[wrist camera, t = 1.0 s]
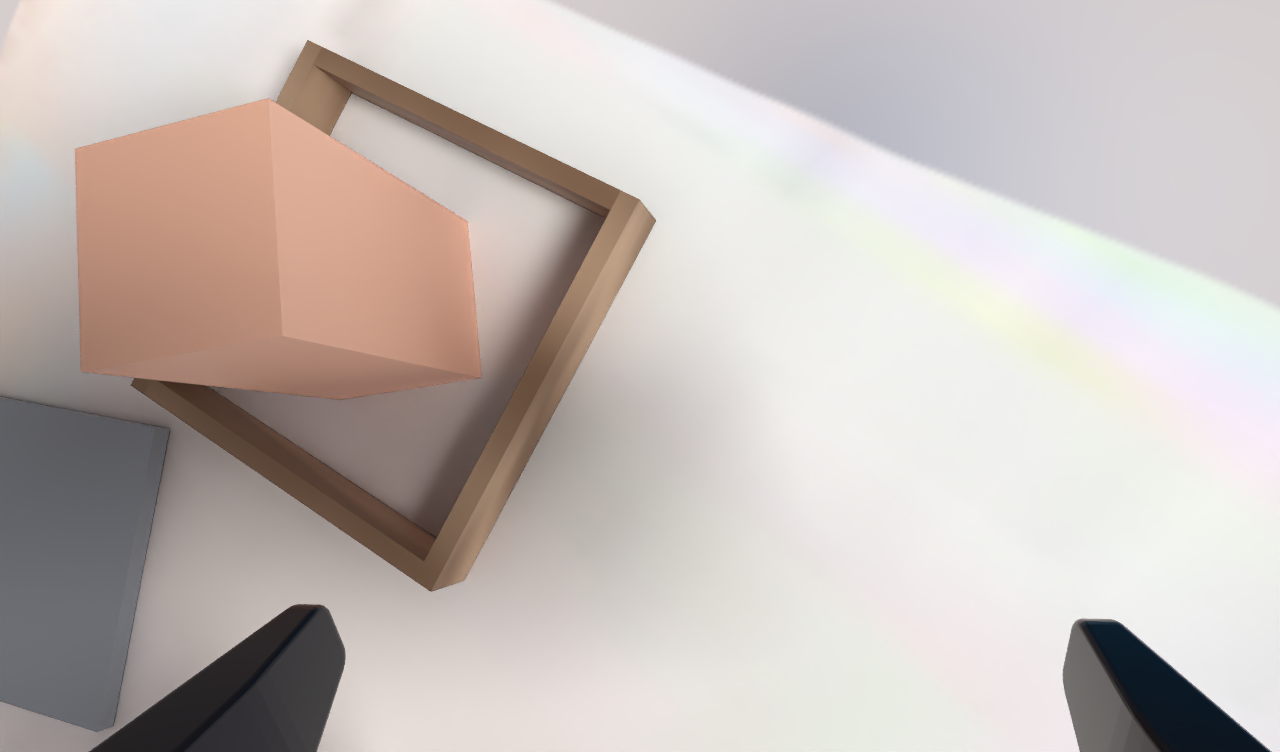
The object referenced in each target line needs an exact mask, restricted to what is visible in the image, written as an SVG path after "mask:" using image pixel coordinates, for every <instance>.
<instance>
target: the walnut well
mask: <svg viewBox="0 0 1280 752" xmlns="http://www.w3.org/2000/svg"><path fill="white" fill-rule="evenodd" d="M351 93H353V94H355V95H357V96H359V97H361V98H363V99H366V100H368V101H370V102H372V103H374V104H376V105H378V106H380V107H382V108H384V109H386V110H388V111H390V112H392V113H394V114H396V115H398V116H400V117H402V118H404V119H406V120H408V121H410V122H412V123H414V124H416V125H418V126H420V127H422V128H424V129H426V130H428V131H430V132H432V133H434V134H436V135H438V136H440V137H442V138H444V139H446V140H448V141H450V142H453V143H455V144H457V145H459V146H461V147H463V148H465V149H467V150H469V151H471V152H473V153H475V154H477V155H479V156H481V157H483V158H485V159H487V160H489V161H491V162H493V163H495V164H497V165H499V166H501V167H503V168H505V169H507V170H509V171H511V172H513V173H515V174H517V175H519V176H521V177H523V178H525V179H527V180H529V181H531V182H533V183H535V184H537V185H540V186H542V187H544V188H546V189H548V190H550V191H552V192H554V193H556V194H558V195H560V196H562V197H564V198H566V199H568V200H570V201H572V202H574V203H576V204H578V205H580V206H582V207H584V208H586V209H588V210H590V211H592V212H594V213H596V214H598V215H600V216H602V217H604V218H606V220H605V222H604V223H603V225H602V227H601V229H600V231H599V233H598V235H597V237H596V238H595V240H594V242H593V244H592V246H591V248H590V250H589V252H588V254H587V255H586V257H585V259H584V261H583V263H582V265H581V267H580V269H579V270H578V272H577V274H576V276H575V278H574V280H573V282H572V284H571V286H570V287H569V289H568V291H567V293H566V295H565V297H564V299H563V301H562V302H561V304H560V306H559V308H558V310H557V312H556V314H555V316H554V318H553V319H552V321H551V323H550V325H549V327H548V329H547V331H546V333H545V335H544V336H543V338H542V340H541V342H540V344H539V346H538V348H537V350H536V351H535V353H534V355H533V357H532V359H531V361H530V363H529V365H528V367H527V368H526V370H525V372H524V374H523V376H522V378H521V380H520V382H519V383H518V385H517V387H516V389H515V391H514V393H513V395H512V397H511V399H510V400H509V402H508V404H507V406H506V408H505V410H504V412H503V414H502V415H501V417H500V419H499V421H498V423H497V425H496V427H495V429H494V431H493V432H492V434H491V436H490V438H489V440H488V442H487V444H486V446H485V448H484V449H483V451H482V453H481V455H480V457H479V459H478V461H477V463H476V464H475V466H474V468H473V470H472V472H471V474H470V476H469V478H468V480H467V481H466V483H465V485H464V487H463V489H462V491H461V493H460V495H459V496H458V498H457V500H456V502H455V504H454V506H453V508H452V510H451V512H450V513H449V515H448V517H447V519H446V521H445V523H444V525H443V527H442V529H441V530H440V532H439V534H438V536H437V538H435V537H433V536H432V535H430V534H429V533H427V532H426V531H424V530H423V529H421V528H420V527H418V526H417V525H415V524H414V523H412V522H411V521H409V520H408V519H406V518H405V517H403V516H402V515H400V514H399V513H397V512H396V511H394V510H393V509H391V508H390V507H388V506H387V505H385V504H384V503H382V502H381V501H379V500H378V499H376V498H375V497H373V496H372V495H370V494H369V493H367V492H366V491H364V490H363V489H361V488H360V487H358V486H356V485H355V484H353V483H352V482H350V481H349V480H347V479H346V478H344V477H343V476H341V475H340V474H338V473H337V472H335V471H334V470H332V469H331V468H329V467H328V466H326V465H325V464H323V463H322V462H320V461H319V460H317V459H316V458H314V457H313V456H311V455H310V454H308V453H307V452H305V451H304V450H302V449H301V448H299V447H298V446H296V445H295V444H293V443H292V442H290V441H289V440H287V439H286V438H284V437H283V436H281V435H280V434H278V433H277V432H275V431H274V430H272V429H271V428H269V427H268V426H266V425H265V424H263V423H262V422H260V421H259V420H257V419H256V418H254V417H253V416H251V415H250V414H248V413H247V412H245V411H244V410H242V409H241V408H239V407H238V406H236V405H235V404H233V403H232V402H230V401H229V400H227V399H226V398H224V397H223V396H221V395H219V394H218V393H216V392H215V391H213V390H212V389H210V388H209V387H207V386H206V385H198V384H189V383H179V382H170V381H161V380H152V379H142V378H134V380H133V382H132V384H131V386H133V387H134V388H136V389H137V390H138V391H140V392H141V393H143V394H144V395H146V396H147V397H149V398H150V399H152V400H153V401H154V402H156V403H157V404H159V405H160V406H162V407H163V408H165V409H166V410H168V411H169V412H170V413H172V414H173V415H175V416H176V417H178V418H179V419H181V420H182V421H184V422H185V423H186V424H188V425H189V426H191V427H192V428H194V429H195V430H197V431H198V432H200V433H201V434H202V435H204V436H205V437H207V438H208V439H210V440H211V441H213V442H214V443H216V444H217V445H218V446H220V447H221V448H223V449H224V450H226V451H227V452H229V453H230V454H231V455H233V456H234V457H236V458H237V459H239V460H240V461H242V462H243V463H245V464H246V465H247V466H249V467H250V468H252V469H253V470H255V471H256V472H258V473H259V474H261V475H262V476H263V477H265V478H266V479H268V480H269V481H271V482H272V483H274V484H275V485H277V486H278V487H279V488H281V489H282V490H284V491H285V492H287V493H288V494H290V495H291V496H293V497H294V498H295V499H297V500H298V501H300V502H301V503H303V504H304V505H306V506H307V507H309V508H310V509H311V510H313V511H314V512H316V513H317V514H319V515H320V516H322V517H323V518H324V519H326V520H327V521H329V522H330V523H332V524H333V525H335V526H336V527H338V528H339V529H340V530H342V531H343V532H345V533H346V534H348V535H349V536H351V537H352V538H354V539H355V540H356V541H358V542H359V543H361V544H362V545H364V546H365V547H367V548H368V549H370V550H371V551H372V552H374V553H375V554H377V555H378V556H380V557H381V558H383V559H384V560H386V561H387V562H388V563H390V564H391V565H393V566H394V567H396V568H397V569H399V570H400V571H402V572H403V573H404V574H406V575H407V576H409V577H410V578H412V579H413V580H415V581H416V582H417V583H419V584H420V585H422V586H423V587H425V588H426V589H428V590H429V591H434V590H437V589H440V588H443V587H446V586H449V585H452V584H455V583H458V582H461V581H464V580H465V578H466V576H467V574H468V572H469V570H470V569H471V567H472V565H473V563H474V561H475V559H476V557H477V555H478V554H479V552H480V550H481V548H482V546H483V544H484V542H485V540H486V539H487V537H488V535H489V533H490V531H491V529H492V527H493V525H494V524H495V522H496V520H497V518H498V516H499V514H500V512H501V510H502V509H503V507H504V505H505V503H506V501H507V499H508V497H509V495H510V494H511V492H512V490H513V488H514V486H515V484H516V482H517V480H518V479H519V477H520V475H521V473H522V471H523V469H524V467H525V465H526V464H527V462H528V460H529V458H530V456H531V454H532V452H533V450H534V449H535V447H536V445H537V443H538V441H539V439H540V437H541V435H542V434H543V432H544V430H545V428H546V426H547V424H548V422H549V420H550V419H551V417H552V415H553V413H554V411H555V409H556V407H557V405H558V404H559V402H560V400H561V398H562V396H563V394H564V392H565V390H566V389H567V387H568V385H569V383H570V381H571V379H572V377H573V375H574V374H575V372H576V370H577V368H578V366H579V364H580V362H581V360H582V359H583V357H584V355H585V353H586V351H587V349H588V347H589V345H590V344H591V342H592V340H593V338H594V336H595V334H596V332H597V330H598V329H599V327H600V325H601V323H602V321H603V319H604V317H605V315H606V314H607V312H608V310H609V308H610V306H611V304H612V302H613V300H614V299H615V297H616V295H617V293H618V291H619V289H620V287H621V285H622V284H623V282H624V280H625V278H626V276H627V274H628V272H629V270H630V269H631V267H632V265H633V263H634V261H635V259H636V257H637V255H638V254H639V252H640V250H641V248H642V246H643V244H644V242H645V240H646V239H647V237H648V235H649V233H650V231H651V229H652V227H653V225H654V224H655V222H656V220H655V218H654V217H653V216H652V215H651V213H650V212H649V211H648V210H647V208H646V207H645V206H644V205H643V203H642V202H641V201H640V200H639V199H637V198H635V197H633V196H631V195H629V194H627V193H625V192H623V191H621V190H619V189H617V188H614V187H612V186H610V185H608V184H606V183H604V182H602V181H600V180H598V179H596V178H594V177H592V176H589V175H587V174H585V173H583V172H581V171H579V170H577V169H575V168H573V167H571V166H569V165H567V164H565V163H562V162H560V161H558V160H556V159H554V158H552V157H550V156H548V155H546V154H544V153H542V152H540V151H537V150H535V149H533V148H531V147H529V146H527V145H525V144H523V143H521V142H519V141H517V140H515V139H512V138H510V137H508V136H506V135H504V134H502V133H500V132H498V131H496V130H494V129H492V128H490V127H488V126H485V125H483V124H481V123H479V122H477V121H475V120H473V119H471V118H469V117H467V116H465V115H463V114H460V113H458V112H456V111H454V110H452V109H450V108H448V107H446V106H444V105H442V104H440V103H438V102H435V101H433V100H431V99H429V98H427V97H425V96H423V95H421V94H419V93H417V92H415V91H413V90H411V89H408V88H406V87H404V86H402V85H400V84H398V83H396V82H394V81H392V80H390V79H388V78H386V77H383V76H381V75H379V74H377V73H375V72H373V71H371V70H369V69H367V68H365V67H363V66H361V65H358V64H356V63H354V62H352V61H350V60H348V59H346V58H344V57H342V56H340V55H338V54H336V53H334V52H331V51H329V50H327V49H325V48H323V47H321V46H319V45H317V44H315V43H313V42H311V41H309V40H307V42H306V44H305V46H304V48H303V50H302V52H301V54H300V56H299V58H298V60H297V62H296V64H295V66H294V68H293V70H292V72H291V74H290V76H289V77H288V79H287V81H286V83H285V85H284V87H283V89H282V91H281V93H280V95H279V97H278V99H277V101H276V103H277V104H278V105H280V106H282V107H283V108H285V109H287V110H288V111H290V112H291V113H293V114H295V115H296V116H298V117H299V118H301V119H303V120H304V121H306V122H308V123H309V124H311V125H312V126H314V127H316V128H317V129H319V130H321V131H322V132H324V133H325V134H327V135H330V133H331V132H332V130H333V128H334V126H335V124H336V122H337V120H338V118H339V116H340V114H341V112H342V110H343V108H344V106H345V104H346V102H347V100H348V99H349V97H350V95H351Z"/></svg>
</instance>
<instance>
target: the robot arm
mask: <svg viewBox="0 0 1280 752" xmlns="http://www.w3.org/2000/svg"><path fill="white" fill-rule="evenodd" d="M344 665H345V648H344V645H343V643H342V640H341V638H340V635H339V633H338V631H337V628H336V626H335V623H334V621H333V619H332V616H331V614H330V612H329V610H328V609H327V608H326V607H325V606H323V605H307V604H298V605H293V606H291V607H289V608H288V609H286V610H285V611H283V612H282V613H281V614H279V615H278V616H277V617H275V618H274V619H272V620H271V621H270V622H268V623H267V624H265V625H264V626H263V627H261V628H260V629H259V630H257V631H256V632H254V633H253V634H252V635H250V636H249V637H247V638H246V639H245V640H243V641H242V642H241V643H239V644H238V645H236V646H235V647H234V648H232V649H231V650H229V651H228V652H227V653H225V654H224V655H223V656H221V657H220V658H218V659H217V660H216V661H214V662H213V663H211V664H210V665H209V666H207V667H206V668H205V669H203V670H202V671H200V672H199V673H198V674H196V675H195V676H193V677H192V678H191V679H189V680H188V681H187V682H185V683H184V684H182V685H181V686H180V687H178V688H177V689H175V690H174V691H173V692H171V693H170V694H169V695H167V696H166V697H164V698H163V699H162V700H160V701H159V702H157V703H156V704H155V705H153V706H152V707H151V708H149V709H148V710H146V711H145V712H144V713H142V714H141V715H139V716H138V717H137V718H135V719H134V720H133V721H131V722H130V723H128V724H127V725H126V726H124V727H123V728H121V729H120V730H119V731H117V732H116V733H115V734H113V735H112V736H110V737H109V738H108V739H106V740H105V741H103V742H102V743H101V744H99V745H98V746H97V747H95V748H94V749H92V750H91V751H90V752H317V750H318V747H319V743H320V740H321V737H322V734H323V731H324V728H325V725H326V722H327V719H328V716H329V713H330V710H331V706H332V703H333V700H334V697H335V694H336V691H337V688H338V685H339V682H340V679H341V676H342V673H343V669H344ZM1063 684H1064V690H1065V695H1066V699H1067V703H1068V706H1069V710H1070V714H1071V718H1072V722H1073V726H1074V730H1075V734H1076V738H1077V742H1078V746H1079V750H1080V752H1271V751H1270V750H1269V749H1268V748H1267V747H1265V746H1264V745H1263V744H1262V743H1261V742H1260V741H1258V740H1257V739H1256V738H1255V737H1254V736H1253V735H1251V734H1250V733H1249V732H1248V731H1247V730H1245V729H1244V728H1243V727H1242V726H1241V725H1240V724H1238V723H1237V722H1236V721H1235V720H1234V719H1233V718H1231V717H1230V716H1229V715H1228V714H1227V713H1226V712H1224V711H1223V710H1222V709H1221V708H1220V707H1219V706H1217V705H1216V704H1215V703H1214V702H1213V701H1212V700H1210V699H1209V698H1208V697H1207V696H1206V695H1205V694H1203V693H1202V692H1201V691H1200V690H1199V689H1198V688H1196V687H1195V686H1194V685H1193V684H1192V683H1191V682H1189V681H1188V680H1187V679H1186V678H1185V677H1184V676H1182V675H1181V674H1180V673H1179V672H1178V671H1176V670H1175V669H1174V668H1173V667H1172V666H1171V665H1169V664H1168V663H1167V662H1166V661H1165V660H1164V659H1162V658H1161V657H1160V656H1159V655H1158V654H1157V653H1155V652H1154V651H1153V650H1152V649H1151V648H1150V647H1148V646H1147V645H1146V644H1145V643H1144V642H1143V641H1141V640H1140V639H1139V638H1138V637H1137V636H1136V635H1134V634H1133V633H1132V632H1131V631H1130V630H1129V629H1127V628H1126V627H1125V626H1124V625H1122V624H1121V623H1119V622H1117V621H1115V620H1112V619H1079V620H1077V621H1075V623H1074V624H1073V626H1072V629H1071V634H1070V639H1069V643H1068V648H1067V653H1066V658H1065V662H1064V667H1063Z"/></svg>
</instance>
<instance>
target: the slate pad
mask: <svg viewBox="0 0 1280 752" xmlns="http://www.w3.org/2000/svg"><path fill="white" fill-rule="evenodd" d="M169 430H170V429H169V428H163V427H158V426H153V425H148V424H142V423H137V422H132V421H126V420H121V419H116V418H111V417H105V416H100V415H95V414H89V413H84V412H79V411H74V410H68V409H63V408H58V407H52V406H47V405H42V404H37V403H31V402H26V401H21V400H15V399H10V398H5V397H0V701H2V702H5V703H8V704H11V705H14V706H17V707H20V708H23V709H27V710H30V711H33V712H36V713H39V714H42V715H45V716H48V717H52V718H55V719H58V720H61V721H64V722H67V723H70V724H73V725H77V726H80V727H83V728H86V729H89V730H92V731H95V732H98V731H101V730H104V729H107V728H109V727H112V726H113V725H114V720H115V714H116V709H117V704H118V699H119V693H120V688H121V683H122V678H123V672H124V667H125V662H126V657H127V651H128V646H129V641H130V636H131V630H132V625H133V620H134V615H135V609H136V604H137V599H138V593H139V588H140V583H141V578H142V572H143V567H144V562H145V557H146V551H147V546H148V541H149V536H150V530H151V525H152V520H153V515H154V509H155V504H156V499H157V494H158V488H159V483H160V478H161V473H162V467H163V462H164V457H165V451H166V446H167V441H168V436H169Z"/></svg>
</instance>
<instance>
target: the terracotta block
mask: <svg viewBox="0 0 1280 752" xmlns="http://www.w3.org/2000/svg"><path fill="white" fill-rule="evenodd" d="M75 164H76V202H77V240H78V278H79V316H80V354H81V372H87V373H96V374H105V375H115V376H124V377H133V378H142V379H152V380H161V381H170V382H179V383H189V384H198V385H207V386H216V387H226V388H235V389H244V390H253V391H263V392H272V393H281V394H290V395H300V396H309V397H318V398H327V399H337V400H341V399H348V398H354V397H361V396H367V395H374V394H380V393H387V392H393V391H400V390H406V389H413V388H419V387H426V386H432V385H439V384H445V383H452V382H458V381H465V380H471V379H478V378H482V375H481V364H480V353H479V342H478V331H477V320H476V309H475V298H474V287H473V276H472V265H471V254H470V243H469V232H468V221H466V220H464V219H463V218H461V217H459V216H458V215H456V214H455V213H453V212H451V211H450V210H448V209H447V208H445V207H443V206H442V205H440V204H438V203H437V202H435V201H434V200H432V199H430V198H429V197H427V196H426V195H424V194H422V193H421V192H419V191H417V190H416V189H414V188H413V187H411V186H409V185H408V184H406V183H405V182H403V181H401V180H400V179H398V178H396V177H395V176H393V175H392V174H390V173H388V172H387V171H385V170H384V169H382V168H380V167H379V166H377V165H375V164H374V163H372V162H371V161H369V160H367V159H366V158H364V157H363V156H361V155H359V154H358V153H356V152H354V151H353V150H351V149H350V148H348V147H346V146H345V145H343V144H342V143H340V142H338V141H337V140H335V139H333V138H332V137H330V136H329V135H327V134H325V133H324V132H322V131H321V130H319V129H317V128H316V127H314V126H312V125H311V124H309V123H308V122H306V121H304V120H303V119H301V118H299V117H298V116H296V115H295V114H293V113H291V112H290V111H288V110H287V109H285V108H283V107H282V106H280V105H278V104H277V103H275V102H274V101H272V100H270V99H269V98H268V99H264V100H260V101H256V102H252V103H249V104H245V105H241V106H237V107H233V108H229V109H226V110H222V111H218V112H214V113H210V114H206V115H203V116H199V117H195V118H191V119H187V120H183V121H180V122H176V123H172V124H168V125H164V126H161V127H157V128H153V129H149V130H145V131H141V132H138V133H134V134H130V135H126V136H122V137H118V138H115V139H111V140H107V141H103V142H99V143H95V144H92V145H88V146H84V147H80V148H76V149H75Z"/></svg>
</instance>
